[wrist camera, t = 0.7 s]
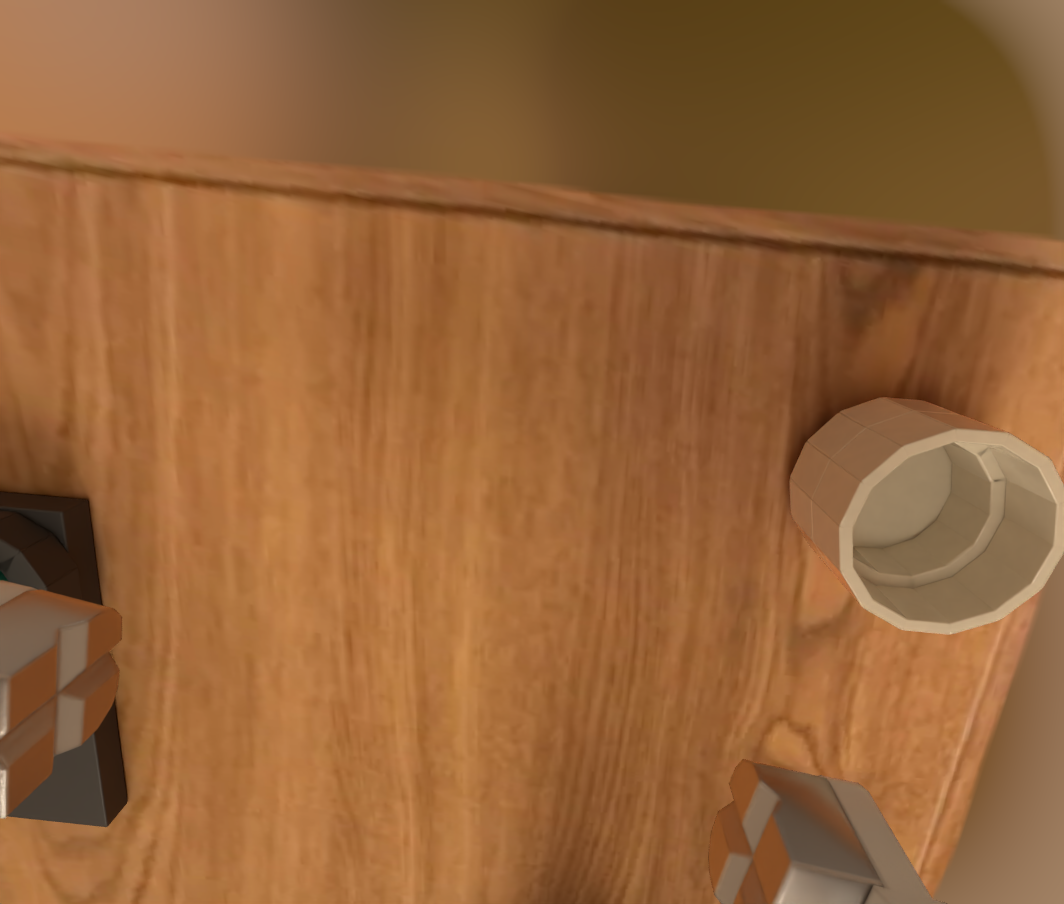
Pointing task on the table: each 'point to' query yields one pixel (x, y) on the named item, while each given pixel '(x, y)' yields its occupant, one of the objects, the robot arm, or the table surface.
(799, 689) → the table surface
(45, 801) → the scale
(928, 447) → the beige cup
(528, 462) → the table surface
